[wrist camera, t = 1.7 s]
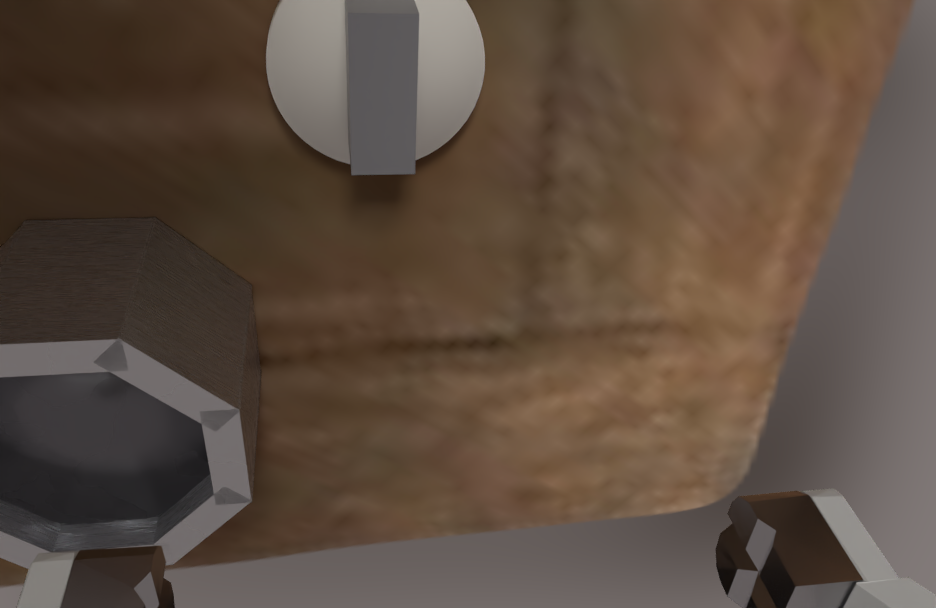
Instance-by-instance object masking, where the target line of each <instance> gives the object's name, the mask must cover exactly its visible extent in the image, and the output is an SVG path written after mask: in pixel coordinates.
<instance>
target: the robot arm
mask: <svg viewBox="0 0 936 608" xmlns="http://www.w3.org/2000/svg"><path fill="white" fill-rule="evenodd" d="M728 515H729V518H730V519H731V521H732V524H731V525H730V526H729V527H728V528H726V529H725V530H724V531H723V532H722V533H720V536H719V539H718V543H717V546H716V567H717V570H718V574H719V578H720V581H721V584H722V586H723V588H724V590H725V592H726V595H727V597H729V598H730V599H731V600H733V601H734V602H735V603H737V604H738V605H739V606H741V607H742V608H936V595H935V594H933V593H932V592H930V591H929V590H927V589H925V588H924V587H923V586H921V585H920V584H918V583H916V582H915V581H913V580H912V579H910V578H909V577H907V578H899V577H898V576H897V574H896V573H895V571H894V570H893V568H892V567H891V565H890V564H889V562H888V561H887V560H886V558H885V557H884V555H883V554H882V552H881V551H880V549H879V548H878V546H877V545H876V544H875V542H874V541H873V539H872V538H871V536H870V535H869V533H868V532H867V530H866V529H865V528H864V526H863V525H862V523H861V522H860V520H859V519H858V517H857V516H856V514H855V513H854V512H853V510H852V509H851V507H850V506H849V504H848V503H847V502H846V500H845V499H844V497H843V496H842V494H841V493H839V492H838V491H836V490H835V489H821V490H810V491H801V492H799V491H790V492H780V493H769V494H760V495H749V496H739V497H737V498H736V499H735V500H734V501H733V502H732V503H731V506H730V508H729V511H728ZM165 565H166V560H165V556H164V553H163V549H162V546H145V547H127V548H110V549H92V550H77V551H63V552H49V553H38V555H37V556H36V558H35V559H34V561H33V562H32V563H31V565H30V567H29V570H28V573H27V576H26V579H25V582H24V585H23V589H22V591H21V594H20V598H19V601H18V604H17V607H16V608H175V606H174V595H173V590H172V585H171V583H170V582H169V581H167V580H166V579H164V578H163V577H164V571H165Z"/></svg>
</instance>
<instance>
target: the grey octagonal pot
mask: <svg viewBox="0 0 936 608" xmlns="http://www.w3.org/2000/svg"><path fill="white" fill-rule="evenodd" d="M260 383H261V369H260V360H259V351H258V342H257V333H256V324H255V315H254V306H253V297H252V285H251V284H249V283H248V282H246V281H245V280H244V279H242V278H241V277H239V276H238V275H237V274H235V273H234V272H232V271H231V270H229V269H228V268H227V267H225V266H224V265H222V264H221V263H219V262H218V261H217V260H215V259H214V258H212V257H211V256H209V255H208V254H207V253H205V252H204V251H202V250H201V249H199V248H198V247H197V246H195V245H194V244H192V243H191V242H189V241H188V240H187V239H185V238H184V237H182V236H181V235H179V234H178V233H177V232H175V231H174V230H172V229H171V228H170V227H168V226H167V225H165V224H164V223H162V222H161V221H160V220H158V219H157V218H155V217H153V218H115V219H72V220H29V221H28V220H26V221H24V222H23V224H22V225H21V226H20V227H19V228H18V229H17V230H16V232H15V233H14V234H13V235H12V236H11V237H10V238H9V239H8V240H7V241H6V242H5V244H4V245H3V246H2V247H1V248H0V558H2V559H5V560H7V561H10V562H12V563H15V564H17V565H20V566H22V567H25V568H27V569H29V567H30V565H31V563H32V562H33V561H34V559H35V558H36V556H37V555H38V553H49V552H63V551H77V550H92V549H110V548H127V547H145V546H162V549H163V553H164V556H165V560H166V565H174V563H175V562H177V561H178V560H179V559H180V558H182V557H183V556H184V555H185V554H187V553H188V552H189V551H190V550H192V549H193V548H194V547H195V546H197V545H198V544H199V543H200V542H202V541H203V540H204V539H205V538H207V537H208V536H209V535H210V534H212V533H213V532H214V531H215V530H217V529H218V528H219V527H220V526H222V525H223V524H224V523H225V522H227V521H228V520H229V519H230V518H232V517H233V516H234V515H235V514H237V513H238V512H239V511H240V510H242V509H243V508H244V507H245V506H247V505H248V504H249V503H251V502H252V500H253V485H254V471H255V456H256V442H257V427H258V413H259V398H260Z"/></svg>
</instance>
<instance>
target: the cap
mask: <svg viewBox="0 0 936 608" xmlns="http://www.w3.org/2000/svg"><path fill="white" fill-rule="evenodd" d="M266 70H267V77H268V83H269V86H270V90H271V93H272V96H273V99H274V101H275V103H276V105H277V108H278V110H279V111H280V113H281V114H282V116H283V118H284V119H285V121H286V122H287V123H288V125H289V126H290V127H291V128H292V130H293V131H294V132H295V133H296V134H297V135H298V136H299V137H300V138H301V139H302V140H303V141H305V142H306V143H307V144H309V145H310V146H311V147H313V148H314V149H315V150H317V151H319V152H321V153H322V154H324V155H326V156H328V157H330V158H333V159H335V160H337V161H340V162H344V163H347V164H350V165H351V175H391V174H415V160H418V159H420V158H422V157H424V156H426V155H429V154H430V153H432V152H434V151H435V150H437V149H438V148H440V147H441V146H443V145H444V144H445V143H446V142H448V141H449V140H450V139H451V138H452V137H453V136H454V135H455V134H456V133H457V132H458V131H459V130H460V129H461V127H462V126H463V125H464V123H465V122H466V121H467V119H468V118H469V116H470V114H471V112H472V111H473V109H474V107H475V105H476V102H477V100H478V98H479V95H480V91H481V88H482V84H483V78H484V71H485V53H484V44H483V39H482V35H481V32H480V28H479V26H478V23H477V21H476V18H475V16H474V14H473V12H472V10H471V8H470V6H469V4H468V3H467V1H466V0H280V1H279V2H278V4H277V7H276V9H275V11H274V14H273V16H272V20H271V24H270V28H269V33H268V41H267V50H266Z"/></svg>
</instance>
